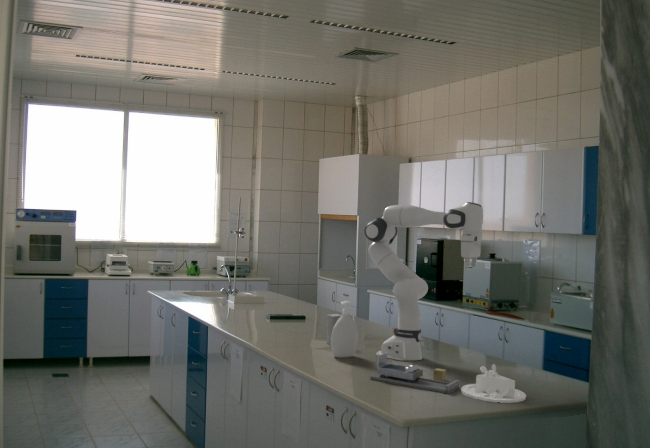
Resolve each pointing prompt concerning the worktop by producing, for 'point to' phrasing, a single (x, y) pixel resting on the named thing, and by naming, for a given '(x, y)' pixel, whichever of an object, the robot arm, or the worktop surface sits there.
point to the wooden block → (439, 374)
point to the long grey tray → (395, 370)
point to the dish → (493, 388)
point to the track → (421, 383)
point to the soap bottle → (344, 335)
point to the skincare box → (331, 325)
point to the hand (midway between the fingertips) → (470, 267)
